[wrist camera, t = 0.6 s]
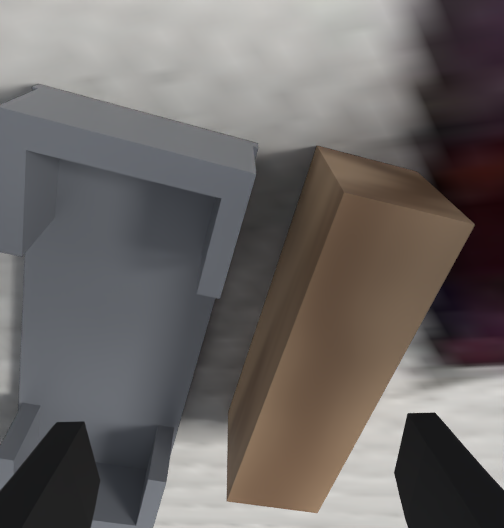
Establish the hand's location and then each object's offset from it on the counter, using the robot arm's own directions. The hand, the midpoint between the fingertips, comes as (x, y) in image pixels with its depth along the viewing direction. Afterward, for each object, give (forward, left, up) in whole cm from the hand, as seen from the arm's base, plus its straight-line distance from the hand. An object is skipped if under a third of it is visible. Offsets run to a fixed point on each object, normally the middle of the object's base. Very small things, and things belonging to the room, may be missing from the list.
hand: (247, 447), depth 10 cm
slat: (-4, +2, -10) cm, 11 cm away
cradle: (+4, +5, -9) cm, 12 cm away
